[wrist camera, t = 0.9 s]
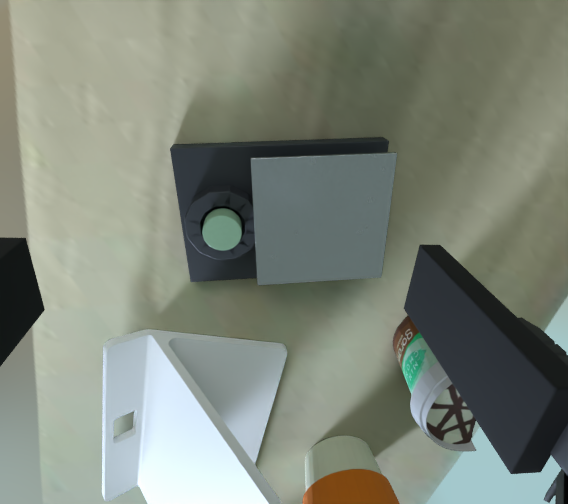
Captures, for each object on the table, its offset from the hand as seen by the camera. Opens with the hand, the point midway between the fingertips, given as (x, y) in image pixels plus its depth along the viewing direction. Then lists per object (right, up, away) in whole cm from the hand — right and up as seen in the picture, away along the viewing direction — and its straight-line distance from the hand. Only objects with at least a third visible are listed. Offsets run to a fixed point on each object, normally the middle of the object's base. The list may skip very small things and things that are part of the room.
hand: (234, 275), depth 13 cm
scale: (+2, +4, +20) cm, 21 cm away
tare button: (-3, +3, +17) cm, 18 cm away
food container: (+16, -9, +29) cm, 34 cm away
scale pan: (+5, +3, +18) cm, 19 cm away
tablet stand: (-9, -19, +31) cm, 38 cm away
